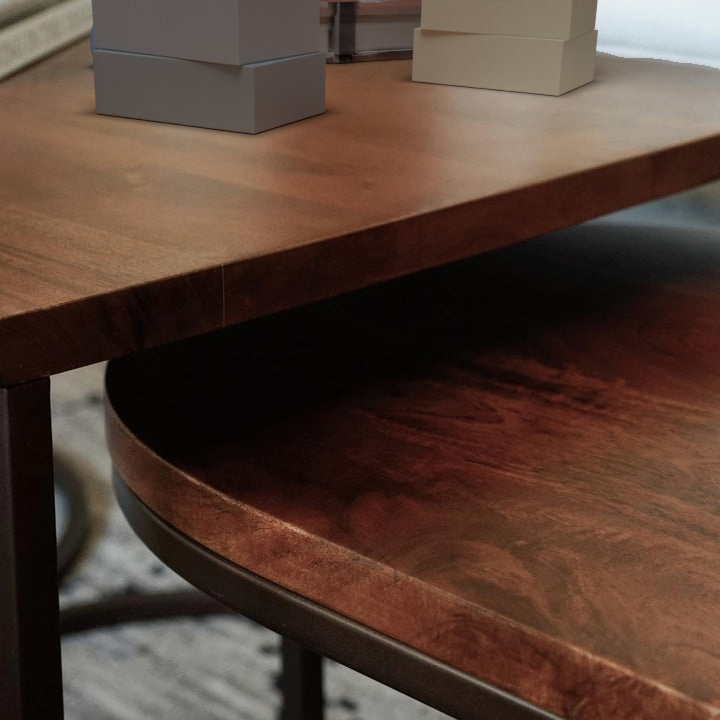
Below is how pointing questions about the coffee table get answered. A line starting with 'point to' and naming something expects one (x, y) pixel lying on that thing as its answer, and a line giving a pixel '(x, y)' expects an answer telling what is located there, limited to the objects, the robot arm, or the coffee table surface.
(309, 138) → the coffee table surface
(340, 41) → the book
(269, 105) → the grey stack
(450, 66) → the cream stack
